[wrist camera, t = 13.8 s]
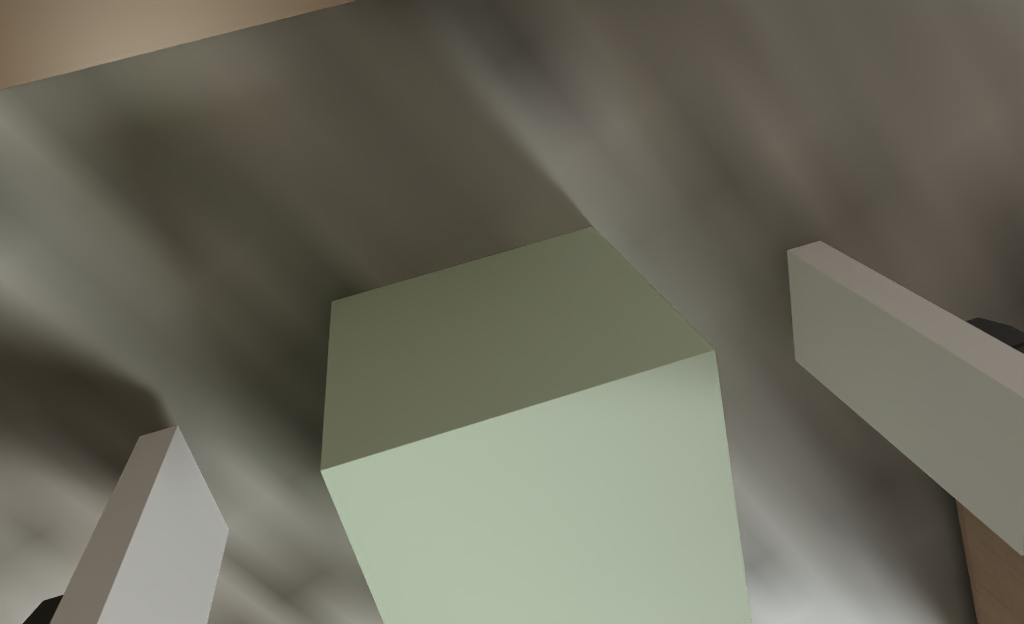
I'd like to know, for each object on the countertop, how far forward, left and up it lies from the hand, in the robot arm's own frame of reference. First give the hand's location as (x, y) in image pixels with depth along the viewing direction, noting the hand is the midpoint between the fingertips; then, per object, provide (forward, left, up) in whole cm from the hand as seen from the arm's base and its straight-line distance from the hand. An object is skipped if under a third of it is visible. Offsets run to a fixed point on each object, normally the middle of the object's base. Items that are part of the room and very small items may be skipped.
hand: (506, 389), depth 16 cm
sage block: (0, 0, -1) cm, 1 cm away
